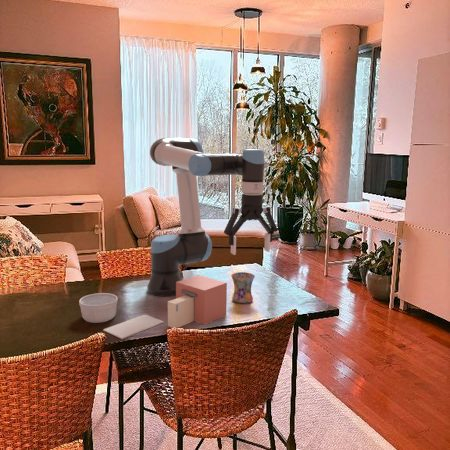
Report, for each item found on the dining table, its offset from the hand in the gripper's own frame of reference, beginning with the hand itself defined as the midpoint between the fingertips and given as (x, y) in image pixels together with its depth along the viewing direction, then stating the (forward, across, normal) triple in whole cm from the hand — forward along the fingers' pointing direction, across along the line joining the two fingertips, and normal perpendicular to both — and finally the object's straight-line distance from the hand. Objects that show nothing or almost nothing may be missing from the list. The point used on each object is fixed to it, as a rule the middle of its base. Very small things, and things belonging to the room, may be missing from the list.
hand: (250, 252), depth 162 cm
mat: (+24, -42, +4) cm, 48 cm away
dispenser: (+24, -16, +6) cm, 29 cm away
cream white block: (+24, -24, +2) cm, 34 cm away
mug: (+24, +5, +15) cm, 29 cm away
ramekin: (+24, -51, +17) cm, 59 cm away
